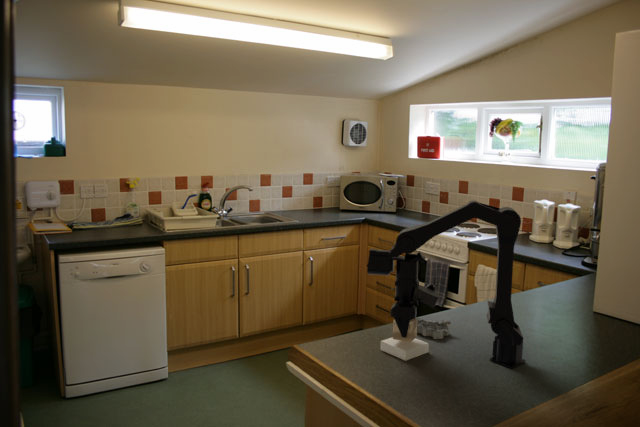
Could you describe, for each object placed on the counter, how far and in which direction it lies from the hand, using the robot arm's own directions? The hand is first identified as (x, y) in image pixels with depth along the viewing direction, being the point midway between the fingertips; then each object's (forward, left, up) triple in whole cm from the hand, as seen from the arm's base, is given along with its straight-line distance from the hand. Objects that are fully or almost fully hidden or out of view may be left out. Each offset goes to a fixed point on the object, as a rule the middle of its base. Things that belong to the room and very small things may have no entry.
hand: (405, 333), depth 143 cm
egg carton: (+5, -16, -6) cm, 18 cm away
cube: (0, 0, -1) cm, 1 cm away
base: (0, 0, -5) cm, 5 cm away
